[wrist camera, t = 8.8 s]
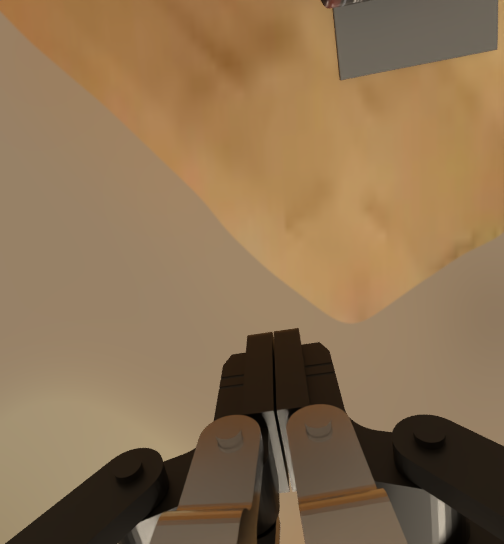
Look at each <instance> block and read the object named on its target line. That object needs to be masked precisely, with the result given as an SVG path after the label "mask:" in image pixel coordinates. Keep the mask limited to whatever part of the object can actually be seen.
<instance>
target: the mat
mask: <svg viewBox="0 0 504 544" xmlns="http://www.w3.org/2000/svg"><path fill="white" fill-rule="evenodd" d="M333 15H334V25H335V35H336V45H337V55H338V65H339V75H340V80H344V79H349V78H354V77H359V76H365V75H370V74H375V73H380V72H385V71H390V70H395V69H400V68H405V67H411V66H416V65H421V64H426V63H431V62H436V61H441V60H446V59H451V58H457V57H462V56H467V55H472V54H477V53H482V52H487V51H492V50H497V40H498V0H372V1H366V2H362V3H357V4H352V5H347V6H342V7H335V8H333Z"/></svg>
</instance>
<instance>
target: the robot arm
mask: <svg viewBox="0 0 504 544" xmlns="http://www.w3.org/2000/svg"><path fill="white" fill-rule="evenodd" d="M288 471H289V475H288ZM289 476H290V482H291V486H292V491H297V496H298V502H299V510H300V516H301V522H302V528H303V534H304V540H305V544H504V446H502V445H500V444H498V443H496V442H494V441H492V440H489V439H487V438H485V437H483V436H481V435H479V434H477V433H475V432H473V431H471V430H469V429H467V428H464V427H462V426H460V425H458V424H456V423H454V422H452V421H450V420H447V419H445V418H442V417H439V416H434V415H415V416H411V417H407V418H405V419H403V420H402V421H400V422H399V423H398V424H397V425H396V426H395V428H394V429H393V432H385V431H377V430H371V429H368V428H365V427H363V426H360V425H359V424H357V423H355V422H354V421H353V420H351V418H349V417H348V415H347V413H346V411H345V409H344V405H343V401H342V397H341V393H340V390H339V386H338V382H337V378H336V374H335V371H334V367H333V363H332V360H331V355H330V352H329V350H328V349H327V348H325V347H324V346H323V345H322V344H321V343H319V342H318V343H311V344H304V345H301V341H300V334H299V329H298V328H295V329H288V330H281V331H274V337H273V333H272V332H268V333H261V334H254V335H248V336H247V347H246V353H240V354H233V355H231V356H230V358H229V359H228V360H227V361H226V363H225V364H224V365H223V370H222V375H221V381H220V389H219V393H218V399H217V405H216V411H215V417H214V421H213V422H212V423H211V424H209V425H208V426H207V427H206V428H205V429H204V430H203V431H202V433H201V434H200V437H199V440H198V443H197V446H196V448H195V449H193V450H192V451H190V452H188V453H185V454H183V455H180V456H178V457H175V458H172V459H170V460H167V461H164V462H163V460H162V457H161V455H160V454H159V453H158V452H157V451H155V450H153V449H149V448H138V449H133V450H129V451H127V452H124V453H122V454H120V455H119V456H117V457H115V458H114V459H112V460H111V461H110V462H109V463H108V464H106V465H105V466H103V467H102V468H101V469H100V470H98V471H97V472H96V473H95V474H93V475H92V476H91V477H90V478H88V479H87V480H86V481H84V482H83V483H82V484H81V485H79V486H78V487H77V488H75V489H74V490H73V491H72V492H70V493H69V494H68V495H67V496H65V497H64V498H63V499H61V500H60V501H59V502H58V503H56V504H55V505H54V506H52V507H51V508H50V509H49V510H47V511H46V512H45V513H44V514H42V515H41V516H40V517H38V518H37V519H36V520H35V521H33V522H32V523H31V524H30V525H28V526H27V527H26V528H24V529H23V530H22V531H21V532H19V533H18V534H17V535H16V536H14V537H13V538H12V539H10V540H9V541H8V542H7V543H5V544H117V543H118V544H280V519H279V507H280V505H279V493H285V492H289Z"/></svg>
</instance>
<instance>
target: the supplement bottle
mask: <svg viewBox="0 0 504 544" xmlns="http://www.w3.org/2000/svg"><path fill="white" fill-rule="evenodd" d="M321 1H322V3H323V5H324V6H325V7H326V8H335V7H342V6H347V5H352V4H357V3H362V2H366V1H372V0H321Z"/></svg>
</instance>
